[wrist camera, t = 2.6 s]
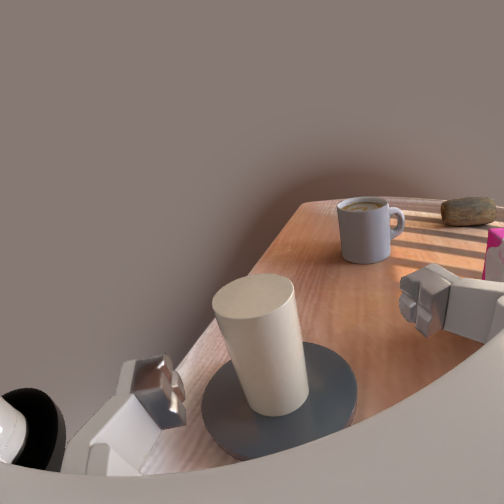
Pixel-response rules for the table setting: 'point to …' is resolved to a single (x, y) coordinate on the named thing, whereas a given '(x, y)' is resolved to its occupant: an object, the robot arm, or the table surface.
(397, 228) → the coffee mug
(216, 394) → the slate plate
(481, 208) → the stone weight
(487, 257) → the supplement box
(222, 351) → the table surface
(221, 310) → the cream canister
